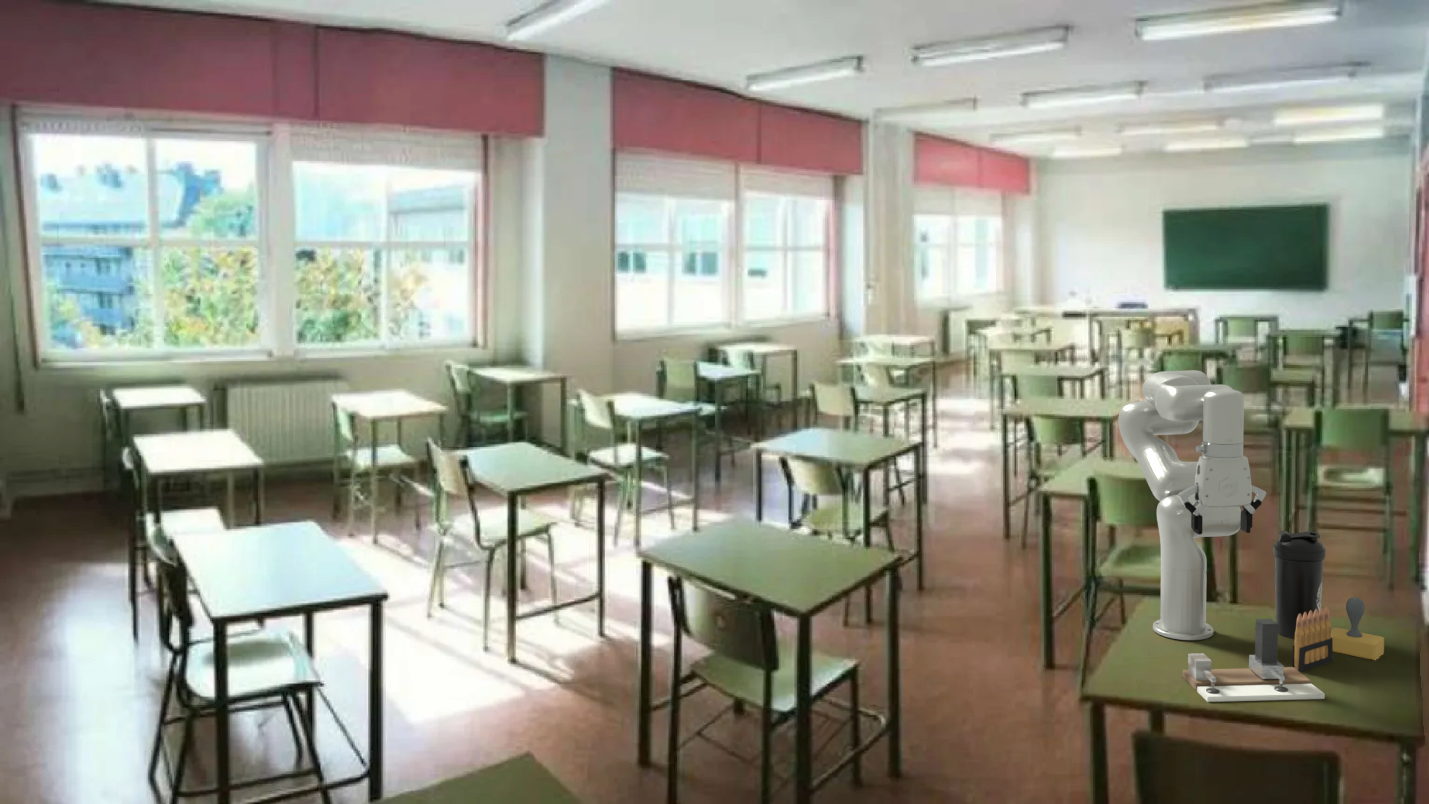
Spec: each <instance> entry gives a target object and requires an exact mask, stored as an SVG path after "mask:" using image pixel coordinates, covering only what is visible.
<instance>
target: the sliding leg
mask: <svg viewBox="0 0 1429 804" xmlns="http://www.w3.org/2000/svg"><path fill="white" fill-rule="evenodd" d="M1254 637H1255V642H1254V643H1255V644H1254V647H1255V649H1254V654H1249V655H1248V668H1250V669H1251V670H1252V671H1253V672H1255V673H1256V674H1257V675H1258V676H1259V677H1261V678H1262V679H1279V680H1280V683H1279V685H1280V686H1283V680H1285V676H1284V675H1283V667H1284V664H1283V663H1281V662H1280V661H1278V652H1279V651H1278V649H1279V648H1278V646H1279V645H1278V644H1279V634H1278V623H1276V620H1274V619H1272V618H1255V636H1254Z"/></svg>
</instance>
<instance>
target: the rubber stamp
mask: <svg viewBox="0 0 1429 804" xmlns="http://www.w3.org/2000/svg"><path fill="white" fill-rule="evenodd" d="M1365 607H1366V606H1365V603H1364V601H1363V600H1362V599H1361V598H1359V597H1357V596H1352V597H1350V598H1349V599H1347V601H1346V603H1345V611H1346V613H1347V614H1346V615H1347V616H1348V617H1347V618H1348V619H1349V622H1350V627H1351V628H1350V629H1345V628H1339V627H1331V638H1333V653H1337V654H1343V655H1347V656H1352V657H1355V658H1361V659H1365V660H1370V659H1372V660H1371V661H1377V660H1378V659H1380V657H1379V656H1381V655H1382V656H1383V655H1384V654H1385V637H1383V636H1380V635H1375V634H1370V633H1365V632H1360V631H1359V624H1360V622H1361V620H1362V619H1363V618H1362V617H1363V616H1364V613H1365V609H1366V608H1365ZM1382 656H1381V657H1382ZM1376 659H1377V660H1376Z"/></svg>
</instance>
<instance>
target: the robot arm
mask: <svg viewBox="0 0 1429 804" xmlns="http://www.w3.org/2000/svg"><path fill="white" fill-rule="evenodd" d="M1142 392H1143V393H1142V394H1143V396H1144V398H1145V400H1138V401H1132V402H1130V403H1128V404H1126V405H1124V406H1123V407H1122V408H1121V409H1120V411H1119V413H1118V428H1119V433H1120V436H1121V439H1122V441H1123V444H1124V446H1125V447H1126V448H1127V450H1128V451H1129V453H1130V454H1131V455H1132V457H1133V458H1134V459H1135V460H1136V462H1138V465H1139V466H1140V469H1141V471H1142V473H1143V476H1144V477H1145V481H1146V483H1147V484H1148V487H1149V489H1150V490H1151V493H1152V495H1153V496H1154V498H1155V499H1156V500H1158V501H1159V502H1158V504H1157V507H1156V521H1157V527H1158V532H1159V533H1158V534H1159V541H1160V619H1157V620H1155V621H1154V622H1153V624H1152V630H1153V632H1155V633H1157V634H1158V635H1159V636H1163V637H1164V638H1165V637H1166V638H1169V639H1174V640H1180V641H1201V640H1206V639H1208V638H1210V637H1212V636H1213V635H1214V628H1213V626H1211V625H1210V624H1208V623H1207V621H1206V620H1207V570H1208V569H1207V566H1208V565H1207V562H1208V561H1207V556H1206V552H1205V551H1204V550H1203V548H1202V547H1201V546H1200V545H1199V544H1198V543H1197V541H1196V539H1197V538H1205V537H1207V538H1208V537H1227V536H1232V535H1235V534H1236V533H1238V532H1239V530H1240V531H1243V532H1245V533H1247V534H1251V528H1253V515H1254V514H1255V513H1256V510H1258V508H1259V507H1260V506H1262V504H1263V503H1262V502H1263V500H1264V499H1265V497H1266V495H1267V491H1265V490H1263V489H1261V488H1260V487H1257V486H1255V485H1253V484H1252V477H1251V469H1250V462H1249V459H1248V457H1247V456H1245V455H1244V428H1245V427H1244V424H1245V423H1244V421H1245V420H1244V419H1245V418H1244V417H1245V414H1244V413H1245V398H1244V394H1243V393H1242V392H1241V391H1239V390H1236V389H1233V387H1231V386H1230V385H1227V384H1212V383H1211V381H1210V378H1209V377H1208V375H1207V374H1205V373H1204V372H1203V371H1202V370H1197V369H1196V370H1193V369H1191V370H1189V369H1188V370H1164V371H1158V372H1154V373H1152V374H1151V375H1149V376H1148V377H1147V378H1146V379H1145V381H1144V382H1143V385H1142ZM1201 421H1202V441H1201V444H1199V445H1195V452H1196V453H1201V454H1202V455H1200V456H1199V458H1198V461H1183V460H1182V461H1181V460H1180V459H1179V457H1178V455H1177V453H1176V451H1175V449H1174V448H1173V447H1172V446H1171V445H1170V444H1169V443H1168V442H1166V441H1164V440H1163V439H1161V438H1159V437H1158V436H1165V435H1166V436H1168V435H1171V436H1172V435H1187V434H1189V433H1190V434H1191V432H1193V431H1194V430H1196V428H1197V426H1198V424H1199V422H1201ZM1253 493H1254V494H1255V496H1254V498H1253ZM1241 508H1242V510H1241Z"/></svg>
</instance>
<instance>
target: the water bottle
mask: <svg viewBox="0 0 1429 804" xmlns="http://www.w3.org/2000/svg"><path fill="white" fill-rule="evenodd" d="M1320 538H1321V534H1319V532H1316V531H1302V532H1295V533H1294V532H1293V533H1289V532H1288V531H1286V530H1281V531H1280V532H1279V533H1278V538H1277V541H1276V542H1275V543H1274V544H1273V547H1272V548H1273V550H1272V553H1273V556H1274V572H1275V574H1274V576H1275V578H1274V581H1275V622H1276V623H1278V636H1281V637H1285V638H1288V639H1293V640H1295V631H1296V622H1297V617H1298V615H1299V613H1300V614H1301V616H1302V618H1303V614H1304V612H1306V613H1307V616H1308V614H1309V612H1310V610H1311V611H1312V613H1313V614H1314V611H1315V609H1317V610H1318V613H1319V611H1320V608H1321V607H1322V594H1323V593H1322V592H1323V572H1324V560H1325V559H1326V553H1327V552H1326V551H1327V550H1326V547H1324V545H1323V544H1322V543H1321V541H1319V539H1320Z"/></svg>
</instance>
